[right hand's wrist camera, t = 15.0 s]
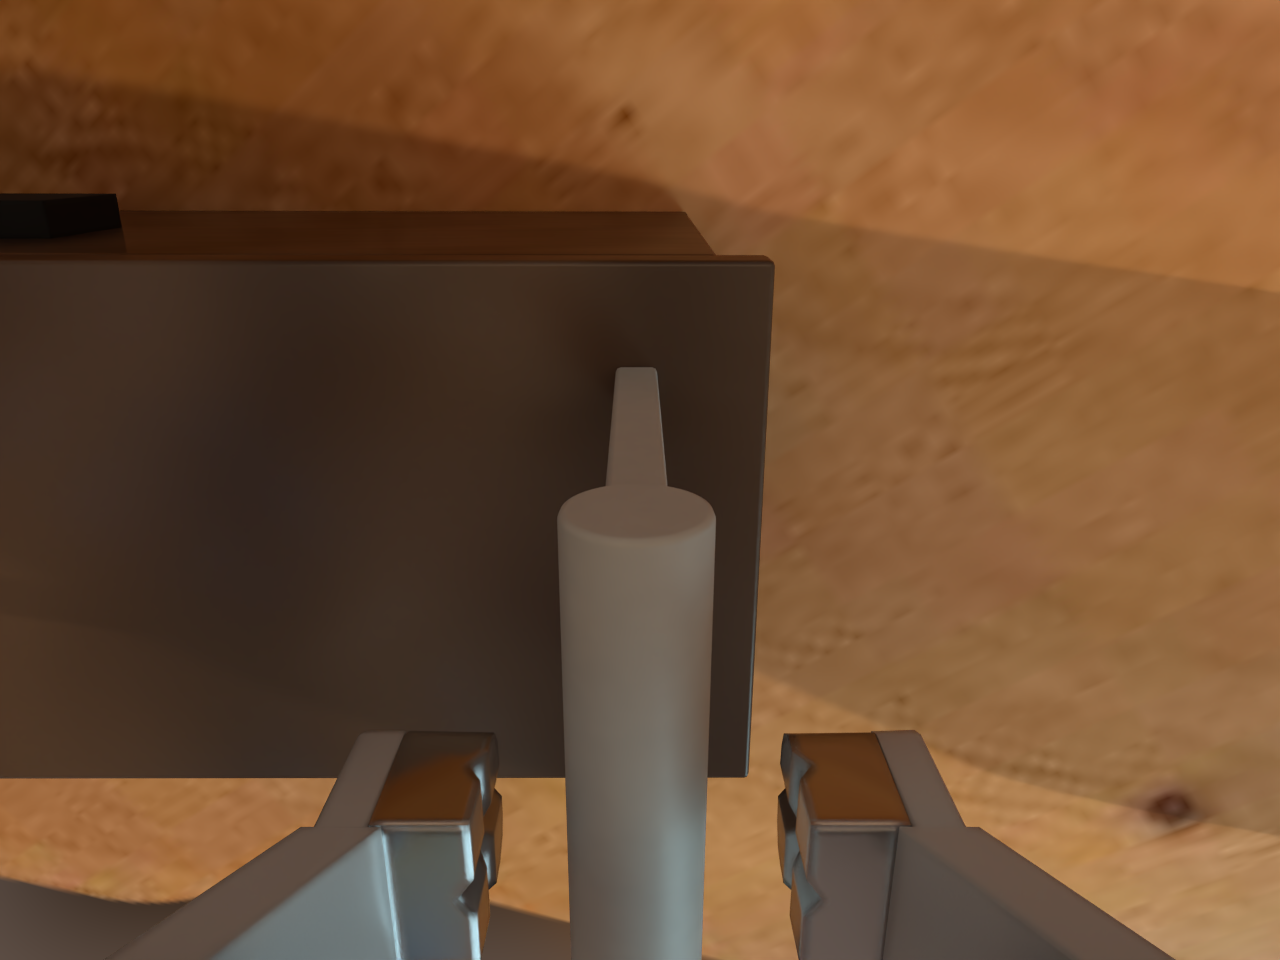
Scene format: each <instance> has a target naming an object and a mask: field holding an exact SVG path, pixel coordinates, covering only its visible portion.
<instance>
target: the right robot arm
mask: <svg viewBox="0 0 1280 960" xmlns="http://www.w3.org/2000/svg"><path fill="white" fill-rule="evenodd" d="M499 764H500V762H499V751H498V740H497V737H496V735H495V732H449V731H409V732H407V731H365V732H363V733H362V734H360V735H359V736H358V737H357V739H356V741H355V743H354V745H353V747H352V749H351V751H350V753H349V755H348V757H347V759H346V762H345V764H344V766H343V768H342V770H341V772H340V774H339V776H338V778H337V780H336V782H335V784H334V786H333V788H332V791H331V793H330V795H329V797H328V799H327V801H326V803H325V805H324V807H323V809H322V811H321V813H320V815H319V818H318V820H317V822H316V824H315V826H314V827H300V828H299V829H297V830H296V831H294V832H293V833H291V834H290V835H288V836H287V837H285V838H284V839H282V840H281V841H279V842H278V843H276V844H275V845H273V846H272V847H271V848H269V849H268V850H266V851H265V852H263V853H262V854H260V855H259V856H257V857H256V858H254V859H253V860H251V861H250V862H248V863H247V864H245V865H244V866H242V867H241V868H239V869H238V870H236V871H235V872H233V873H232V874H230V875H229V876H227V877H226V878H224V879H223V880H221V881H220V882H218V883H217V884H216V885H214V886H213V887H211V888H210V889H208V890H207V891H205V892H204V893H202V894H201V895H199V896H198V897H196V898H195V899H193V900H192V901H190V902H189V903H187V904H186V905H184V906H183V907H181V908H180V909H178V910H177V911H175V912H174V913H172V914H171V915H169V916H168V917H166V918H165V919H163V920H162V921H160V922H159V923H158V924H156V925H155V926H153V927H152V928H150V929H149V930H147V931H146V932H144V933H143V934H141V935H140V936H138V937H137V938H135V939H134V940H132V941H131V942H129V943H128V944H126V945H125V946H123V947H122V948H120V949H119V950H117V951H116V952H114V953H113V954H111V955H110V956H108V957H107V958H105V959H104V960H481V958H482V953H483V948H484V943H485V938H486V933H487V928H488V923H489V918H490V905H489V889H490V888H491V887H492V886H493V885H494V884H496V882H497V877H498V871H499V865H500V858H501V847H502V836H503V811H502V796H501V795H500V794H499V793H498V792H497V790H496V789H495V783H496V778H497V774H498V769H499ZM780 765H781V769H782V774H783V779H784V783H785V789H784V790H783V791H782V792H781V794H780V795H779V796H778V814H777V832H778V851H779V859H780V866H781V872H782V877H783V883H784V884H785V885H787V886H788V887H789V888H790V889H791V903H790V919H791V924H792V929H793V933H794V938H795V943H796V948H797V953H798V958H799V960H1175V959H1174V958H1172V957H1171V956H1169V955H1168V954H1166V953H1165V952H1163V951H1162V950H1160V949H1159V948H1157V947H1156V946H1154V945H1153V944H1151V943H1150V942H1148V941H1147V940H1146V939H1144V938H1143V937H1141V936H1140V935H1138V934H1137V933H1135V932H1134V931H1132V930H1131V929H1129V928H1128V927H1126V926H1125V925H1123V924H1122V923H1120V922H1119V921H1117V920H1116V919H1114V918H1113V917H1111V916H1110V915H1109V914H1107V913H1106V912H1104V911H1103V910H1101V909H1100V908H1098V907H1097V906H1095V905H1094V904H1092V903H1091V902H1089V901H1088V900H1086V899H1085V898H1083V897H1082V896H1080V895H1079V894H1077V893H1076V892H1074V891H1073V890H1071V889H1070V888H1069V887H1067V886H1066V885H1064V884H1063V883H1061V882H1060V881H1058V880H1057V879H1055V878H1054V877H1052V876H1051V875H1049V874H1048V873H1046V872H1045V871H1043V870H1042V869H1040V868H1039V867H1037V866H1036V865H1034V864H1033V863H1032V862H1030V861H1029V860H1027V859H1026V858H1024V857H1023V856H1021V855H1020V854H1018V853H1017V852H1015V851H1014V850H1012V849H1011V848H1009V847H1008V846H1006V845H1005V844H1003V843H1002V842H1000V841H999V840H997V839H996V838H994V837H993V836H992V835H990V834H989V833H987V832H986V831H984V830H983V829H981V828H980V827H966V826H965V824H964V822H963V820H962V818H961V816H960V814H959V812H958V810H957V808H956V806H955V804H954V802H953V799H952V797H951V795H950V793H949V791H948V789H947V787H946V785H945V783H944V781H943V779H942V777H941V775H940V773H939V771H938V769H937V767H936V765H935V763H934V761H933V758H932V756H931V754H930V752H929V750H928V748H927V746H926V744H925V742H924V740H923V738H922V736H921V734H919V733H918V732H917V731H915V730H897V731H871V733H784V736H783V741H782V748H781V761H780Z"/></svg>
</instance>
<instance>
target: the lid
mask: <svg viewBox="0 0 1280 960" xmlns="http://www.w3.org/2000/svg"><path fill="white" fill-rule="evenodd" d="M774 272H775V265H774V262H773V261H772V260H771V259H769V258H768V257H766V256H764V255H67V254H0V778H338V776H339V774H340V772H341V770H342V768H343V766H344V764H345V762H346V759H347V757H348V755H349V753H350V751H351V749H352V747H353V745H354V743H355V741H356V739H357V737H358V736H359V735H360V734H362V733H363V732H365V731H407V732H409V731H449V732H495V735H496V737H497V740H498V751H499V762H500V764H499V769H498V774H497V778H565V779H566V810H567V842H568V873H569V904H570V934H571V960H701V955H702V925H703V895H704V864H705V834H706V804H707V778H709V777H747V775H748V772H749V752H750V733H751V714H752V695H753V676H754V656H755V637H756V618H757V599H758V579H759V560H760V541H761V522H762V502H763V483H764V464H765V445H766V426H767V406H768V387H769V368H770V349H771V329H772V310H773V291H774Z"/></svg>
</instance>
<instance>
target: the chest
mask: <svg viewBox="0 0 1280 960" xmlns="http://www.w3.org/2000/svg"><path fill="white" fill-rule="evenodd" d="M119 214H120V219H121V224H122V227H121V228H115V229H108V230H102V231H96V232H89V233H83V234H77V235H70V236H64V237H58V238H51V239H0V254H67V255H715V253H714V252H713V250H712V249H711V248H710V246H709V245H708V243H707V242H706V241H705V239H704V238H703V236H702V235H701V234H700V232H699V231H698V230H697V228H696V227H695V225H694V224H693V223H692V221H691V220H690V218H689V217H688V216H687V214H686V212H468V211H119Z"/></svg>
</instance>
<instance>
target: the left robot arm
mask: <svg viewBox="0 0 1280 960" xmlns="http://www.w3.org/2000/svg"><path fill="white" fill-rule="evenodd" d="M121 227H122V224H121V219H120V214H119V208H118V203H117V198H116V194H0V239H51V238H58V237H64V236H70V235H77V234H83V233H89V232H96V231H102V230H108V229H115V228H121Z"/></svg>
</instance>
